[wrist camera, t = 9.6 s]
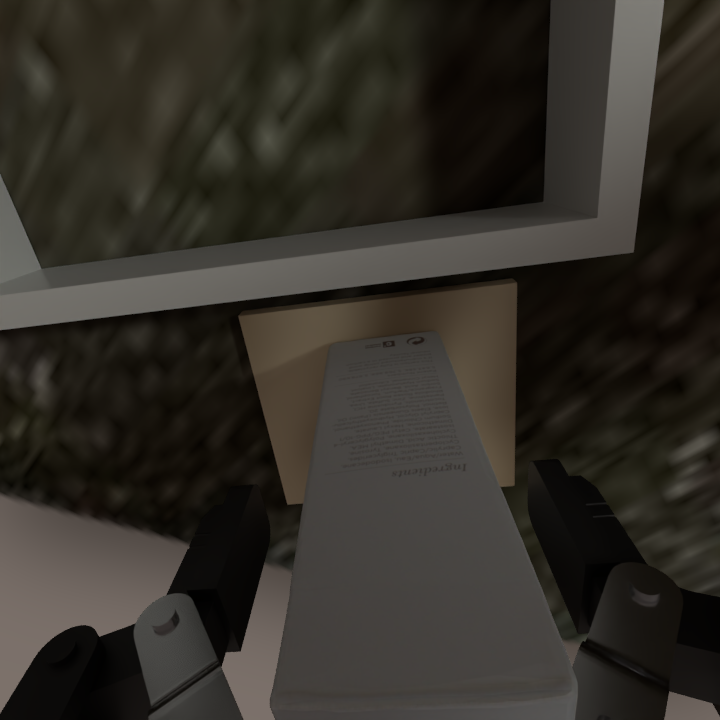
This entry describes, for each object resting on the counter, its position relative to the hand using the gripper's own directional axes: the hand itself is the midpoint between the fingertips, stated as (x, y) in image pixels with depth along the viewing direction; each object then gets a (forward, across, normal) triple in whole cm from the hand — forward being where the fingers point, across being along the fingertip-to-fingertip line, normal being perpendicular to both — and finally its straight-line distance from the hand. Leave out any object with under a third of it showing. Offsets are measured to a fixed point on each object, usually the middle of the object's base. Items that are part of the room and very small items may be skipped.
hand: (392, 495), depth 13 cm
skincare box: (+5, 0, 0) cm, 5 cm away
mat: (+6, 0, 0) cm, 6 cm away
